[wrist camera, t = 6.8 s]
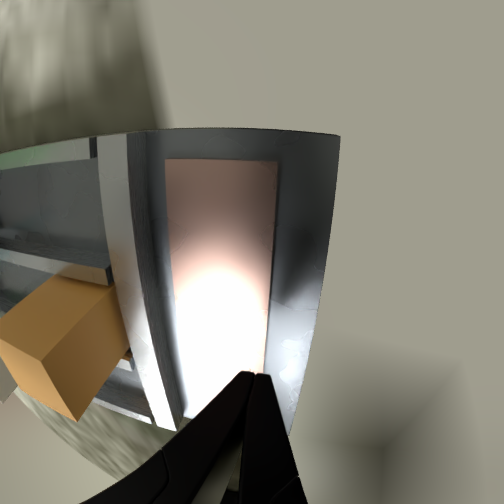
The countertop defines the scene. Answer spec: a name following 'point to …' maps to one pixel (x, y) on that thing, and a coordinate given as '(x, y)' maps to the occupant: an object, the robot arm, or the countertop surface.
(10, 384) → the block
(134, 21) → the countertop surface
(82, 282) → the block
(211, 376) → the panel
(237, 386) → the robot arm
